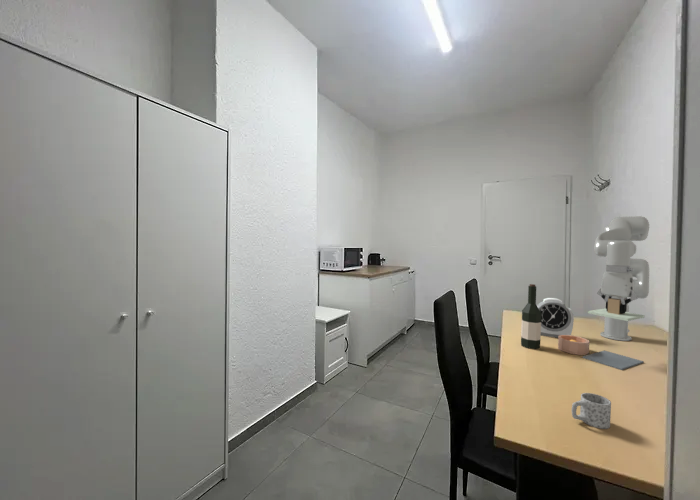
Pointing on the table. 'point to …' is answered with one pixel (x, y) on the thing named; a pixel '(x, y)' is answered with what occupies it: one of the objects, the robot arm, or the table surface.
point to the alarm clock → (555, 318)
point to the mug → (593, 410)
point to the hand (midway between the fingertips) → (615, 311)
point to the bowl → (573, 345)
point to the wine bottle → (531, 321)
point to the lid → (615, 311)
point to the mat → (613, 360)
